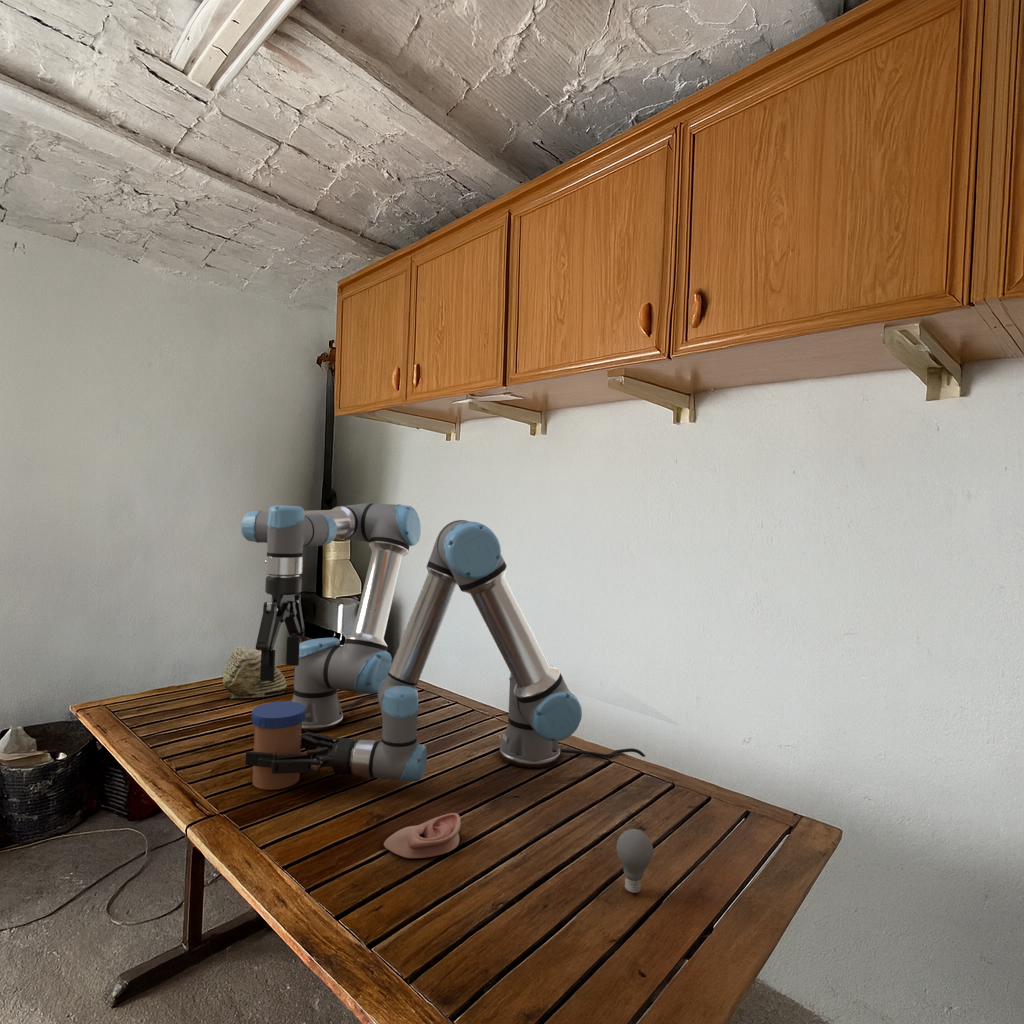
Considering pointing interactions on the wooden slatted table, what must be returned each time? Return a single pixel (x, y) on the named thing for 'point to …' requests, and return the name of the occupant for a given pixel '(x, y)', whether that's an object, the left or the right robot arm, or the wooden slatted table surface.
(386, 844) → the anatomical model
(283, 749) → the jar
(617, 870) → the wooden slatted table surface
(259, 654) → the fossil
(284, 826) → the wooden slatted table surface
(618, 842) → the light bulb
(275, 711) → the lid
